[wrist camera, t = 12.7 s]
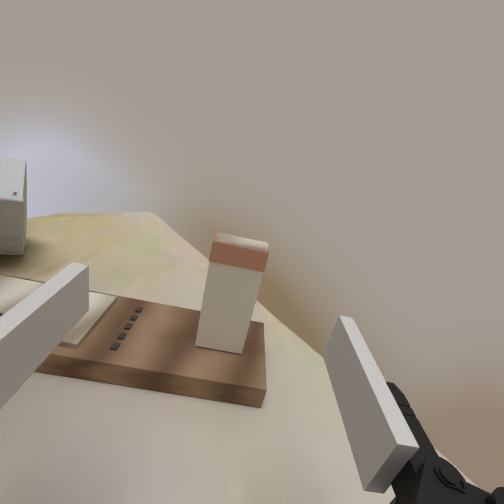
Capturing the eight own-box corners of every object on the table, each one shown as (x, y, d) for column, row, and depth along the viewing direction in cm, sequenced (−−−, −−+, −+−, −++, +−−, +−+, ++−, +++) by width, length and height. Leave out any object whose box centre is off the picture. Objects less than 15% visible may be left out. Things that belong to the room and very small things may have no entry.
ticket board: (-102, 349, 25) (-112, 321, 24) (-5, 290, 34) (-9, 268, 33) (260, 407, 27) (268, 385, 26) (259, 338, 36) (264, 319, 35)
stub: (194, 345, 29) (212, 241, 24) (198, 330, 31) (216, 231, 27) (242, 354, 29) (269, 253, 25) (243, 338, 32) (267, 242, 27)
